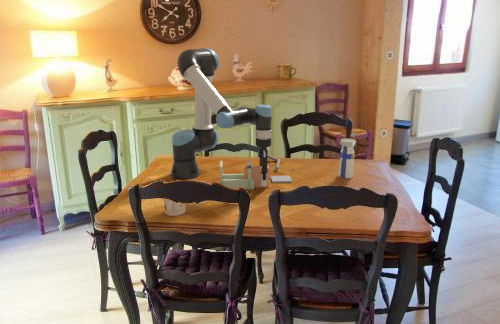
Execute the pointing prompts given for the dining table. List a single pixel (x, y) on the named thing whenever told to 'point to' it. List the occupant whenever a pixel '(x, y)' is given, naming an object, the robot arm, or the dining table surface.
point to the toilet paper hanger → (275, 160)
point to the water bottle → (347, 157)
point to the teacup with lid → (174, 208)
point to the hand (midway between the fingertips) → (263, 182)
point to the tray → (281, 179)
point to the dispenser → (237, 178)
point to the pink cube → (256, 175)
